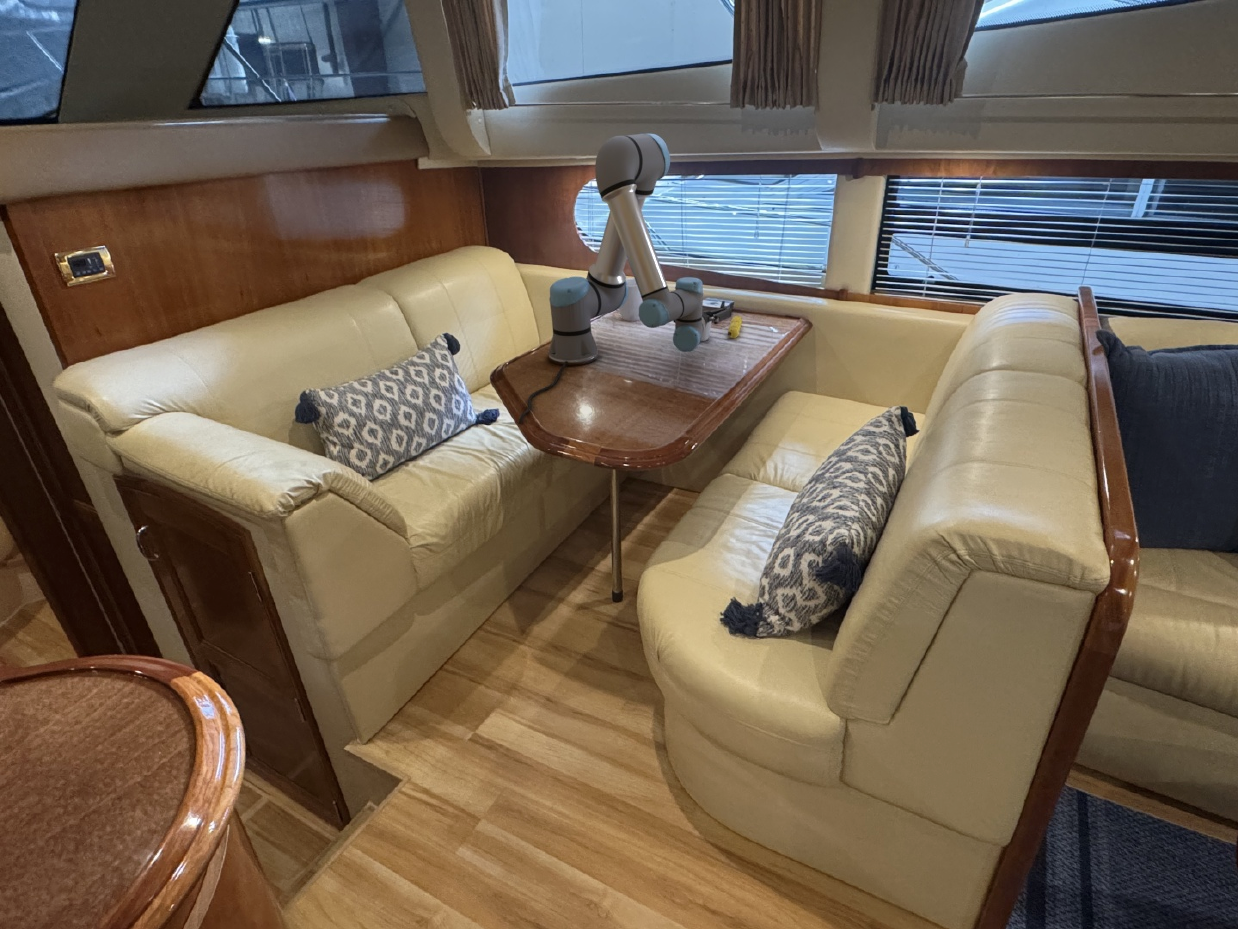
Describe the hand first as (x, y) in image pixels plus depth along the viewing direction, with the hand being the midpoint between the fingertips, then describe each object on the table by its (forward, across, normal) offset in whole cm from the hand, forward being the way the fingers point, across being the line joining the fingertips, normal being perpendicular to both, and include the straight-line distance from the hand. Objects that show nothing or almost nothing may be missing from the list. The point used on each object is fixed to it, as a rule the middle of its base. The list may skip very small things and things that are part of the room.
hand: (702, 304), depth 215 cm
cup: (-3, 0, -10) cm, 11 cm away
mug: (+16, -28, -11) cm, 34 cm away
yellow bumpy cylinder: (+5, +11, -10) cm, 16 cm away
